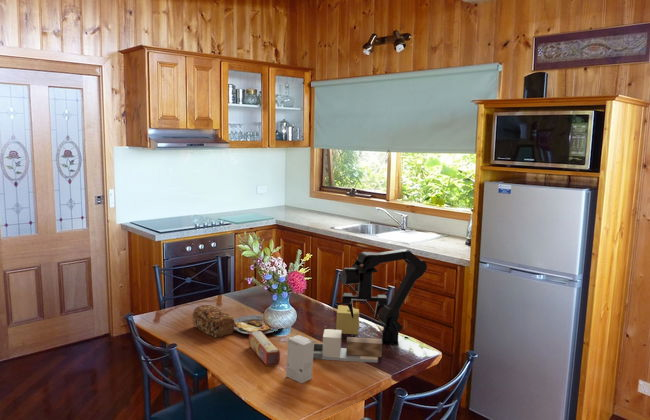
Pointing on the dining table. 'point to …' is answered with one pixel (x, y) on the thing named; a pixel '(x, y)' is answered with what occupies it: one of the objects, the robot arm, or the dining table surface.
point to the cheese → (347, 320)
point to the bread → (213, 320)
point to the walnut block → (364, 346)
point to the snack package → (264, 348)
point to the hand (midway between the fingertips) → (363, 318)
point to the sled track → (336, 349)
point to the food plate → (251, 319)
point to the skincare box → (300, 358)
